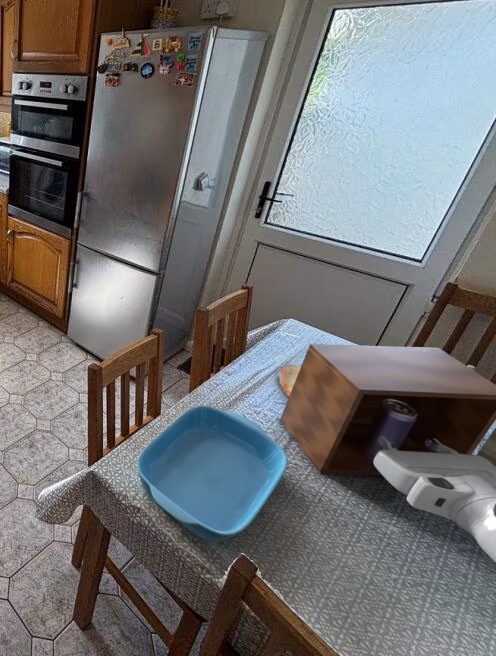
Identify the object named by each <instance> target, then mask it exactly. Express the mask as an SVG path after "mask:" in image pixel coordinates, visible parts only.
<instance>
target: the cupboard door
mask: <svg viewBox="0 0 496 656" xmlns="http://www.w3.org/2000/svg"><path fill="white" fill-rule="evenodd" d="M476 455H479V456H481V457H483V458H485V459H487V460H488V461H490V462H491V463H492V464H493V465H494V466H495V467H496V427H495V428H494V429H493V431H492V432H491V433H490V435H489V436H488V437H487V439H486V440H485V442H484V443H483V445H482V446H481V447H480V449H479V451H478V452H477V453H476Z"/></svg>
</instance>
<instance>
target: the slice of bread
mask: <svg viewBox="0 0 496 656" xmlns="http://www.w3.org/2000/svg"><path fill="white" fill-rule="evenodd" d="M301 366H302V365H295V364H289V363H288V364H286V365H284V366H283V367H282V368H280V370H279V373H278V379H279V385H280V386H281V387H282V389H283V392H284V393H285V394H286V396H287V397H288V398H289V396H290V393H291V391H292V388H293V386H294V383H295V381H296V378H297V376H298V373H299V371H300V368H301Z"/></svg>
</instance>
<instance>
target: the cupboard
mask: <svg viewBox="0 0 496 656" xmlns="http://www.w3.org/2000/svg"><path fill="white" fill-rule="evenodd" d="M334 344H335V343H331V344H330V343H329V344H328V343H309V346H308V348H307V350H306V353H305V356H304V358H303V361H302V363H301V365H300V366H301V368H300V371H299V373H298V376H297V378H296V381H295V383H294V386H293V388H292V391H291V393H290V396H289V397H288V399H287V401H286V403H285V406H284V409H283V411H282V413H281V415H280V419H279V420H280V423H282V425H283V426H284V428H285V429H286V430H287V431H288V433H289V434H290V435H291V437H292V438H293V439H294V441H295V442H296V443H297V444H298V446H299V447H300V448H301V450H302V451H303V453H305V455H306V457H307V458H308V459H309V461H311V463H312V464H313V466H314V467H315V469H316V470H317V471H318V472H319V473H324V474H325V473H326V474H340V475H341V474H342V475H359V476H360V475H361V476H378V477H380V476H381V477H384V476H383V475H382V474H381V473H380V472H379V471H378V470H377V468H376V467H375V466H374V463H371V462H369V461H368V460H366V459H365V458H364V457H362V456H361V454H360V453H359V451H358V445H359V443H360V441H361V439H362V438H363V436H364V434H365V432H366V430H367V428H368V426H369V424H370V422H371V420H372V418H373V417H374V415H375V413H376V411H377V409H378V407H379V405H380V403H382V402H383V400H385V399H394V400H398V401H401V402H404V403H406V404H408V405H409V406H411V407H412V408H414V409H415V410H416V412H417V416H416V421H415V423H414V424H413V426H412V428H411V429H410V431H409V433H408V435H407V436H406V438H405V440H404V441H403V443H402V445H401V446H400V448H399V450H398V451H413V452H431V453H438V452H437V451H435V450H430V449H429V448H428V447H427V446H426V445H425V441H426V439H436V440H438V441H439V442H440V443H441V444H442V445H445V446H447V447H449V448H451V449H453V450H455V451H457V452H458V453H459V454H468V455H473V453H474V452H475V451H476V449H477V447H478V446H479V445H480V443H481V441H483V439H484V437H485V436H486V435H487V433H488V432H489V430H490V429H491V428H492V426H493V424H494V423H495V422H496V383H494V382H492V381H490V380H489V379H487V377H484V376H483V375H481V374H480V373H478V372H476V371H475V370H474V371H473V370H472V369H470V368H469V367H467V366H468V365H466V364H464V363H463V362H461V361H460V360H458V359H457V358H455V357H454V356H452V355H450V354H449V353H447V352H446V351H444V350H443V349H441V348H439V347H421V346H394V345H393V346H392V345H391V346H390V345H389V346H388V345H364V344H363V345H362V344H360V345H359V344H343V345H334Z"/></svg>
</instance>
